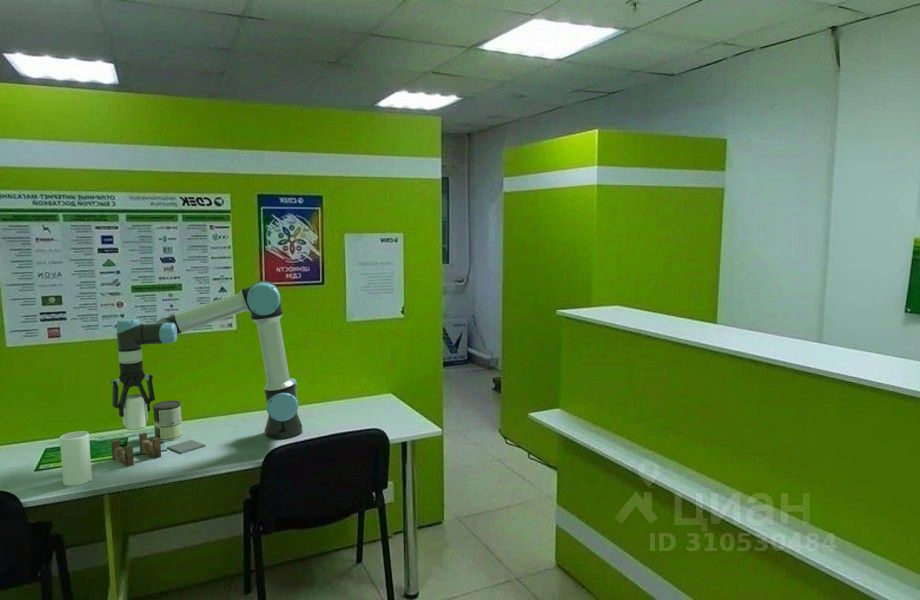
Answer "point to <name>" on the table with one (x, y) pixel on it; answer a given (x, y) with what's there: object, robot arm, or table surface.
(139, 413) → the can
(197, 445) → the pad
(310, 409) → the table surface
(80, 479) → the cup
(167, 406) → the coffee can
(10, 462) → the table surface
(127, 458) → the brown cradle stand
